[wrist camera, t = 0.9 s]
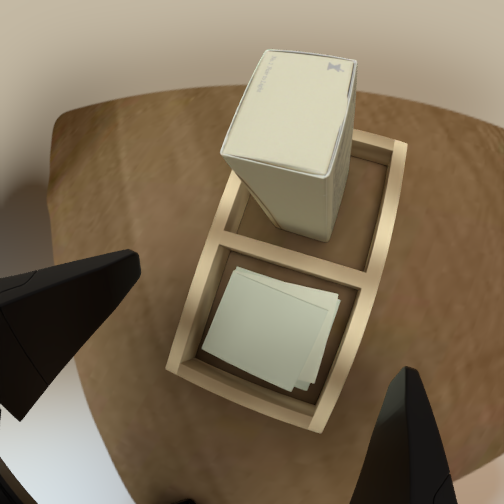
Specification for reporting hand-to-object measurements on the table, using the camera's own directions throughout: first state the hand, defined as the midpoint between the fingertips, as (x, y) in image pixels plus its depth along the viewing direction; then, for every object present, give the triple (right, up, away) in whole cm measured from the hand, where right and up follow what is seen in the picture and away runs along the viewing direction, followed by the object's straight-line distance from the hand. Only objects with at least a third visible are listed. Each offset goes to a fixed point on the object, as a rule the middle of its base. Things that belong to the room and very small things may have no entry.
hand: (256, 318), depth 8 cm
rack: (+3, +1, +13) cm, 13 cm away
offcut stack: (+1, -4, +13) cm, 14 cm away
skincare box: (+5, +6, +14) cm, 15 cm away
